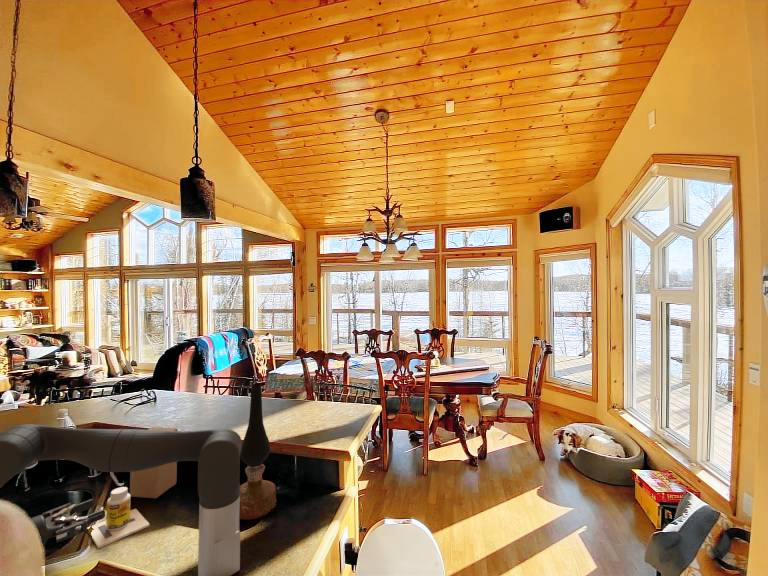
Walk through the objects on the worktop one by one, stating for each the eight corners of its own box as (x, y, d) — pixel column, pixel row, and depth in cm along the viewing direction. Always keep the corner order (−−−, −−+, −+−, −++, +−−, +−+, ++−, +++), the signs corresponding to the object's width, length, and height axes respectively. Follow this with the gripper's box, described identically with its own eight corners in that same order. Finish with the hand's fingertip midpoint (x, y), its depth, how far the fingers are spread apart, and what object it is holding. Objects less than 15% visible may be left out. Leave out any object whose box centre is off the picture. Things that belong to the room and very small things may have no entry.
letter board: (149, 526, 104) (149, 523, 104) (98, 548, 94) (98, 546, 94) (135, 510, 111) (135, 508, 111) (87, 529, 102) (87, 527, 102)
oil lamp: (250, 502, 122) (244, 384, 130) (289, 501, 118) (280, 379, 125) (221, 521, 109) (216, 389, 116) (263, 521, 105) (255, 384, 112)
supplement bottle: (105, 534, 99) (106, 497, 99) (107, 523, 104) (108, 488, 104) (129, 527, 102) (130, 491, 102) (130, 517, 107) (131, 483, 107)
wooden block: (156, 499, 118) (157, 438, 118) (128, 497, 119) (130, 437, 119) (177, 483, 127) (178, 427, 128) (151, 481, 129) (153, 426, 129)
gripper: (25, 535, 82) (109, 502, 95) (10, 514, 90) (90, 486, 103) (23, 568, 81) (108, 530, 95) (9, 544, 89) (89, 512, 103)
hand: (98, 507), depth 99 cm, fingers open, 8 cm apart
